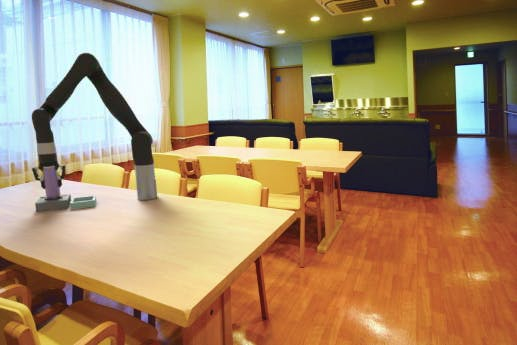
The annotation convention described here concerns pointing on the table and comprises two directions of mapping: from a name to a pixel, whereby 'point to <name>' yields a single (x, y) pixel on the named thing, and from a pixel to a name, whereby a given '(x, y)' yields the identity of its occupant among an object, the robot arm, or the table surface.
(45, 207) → the port
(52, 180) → the beverage can
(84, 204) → the teal square frame
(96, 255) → the table surface
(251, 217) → the table surface
